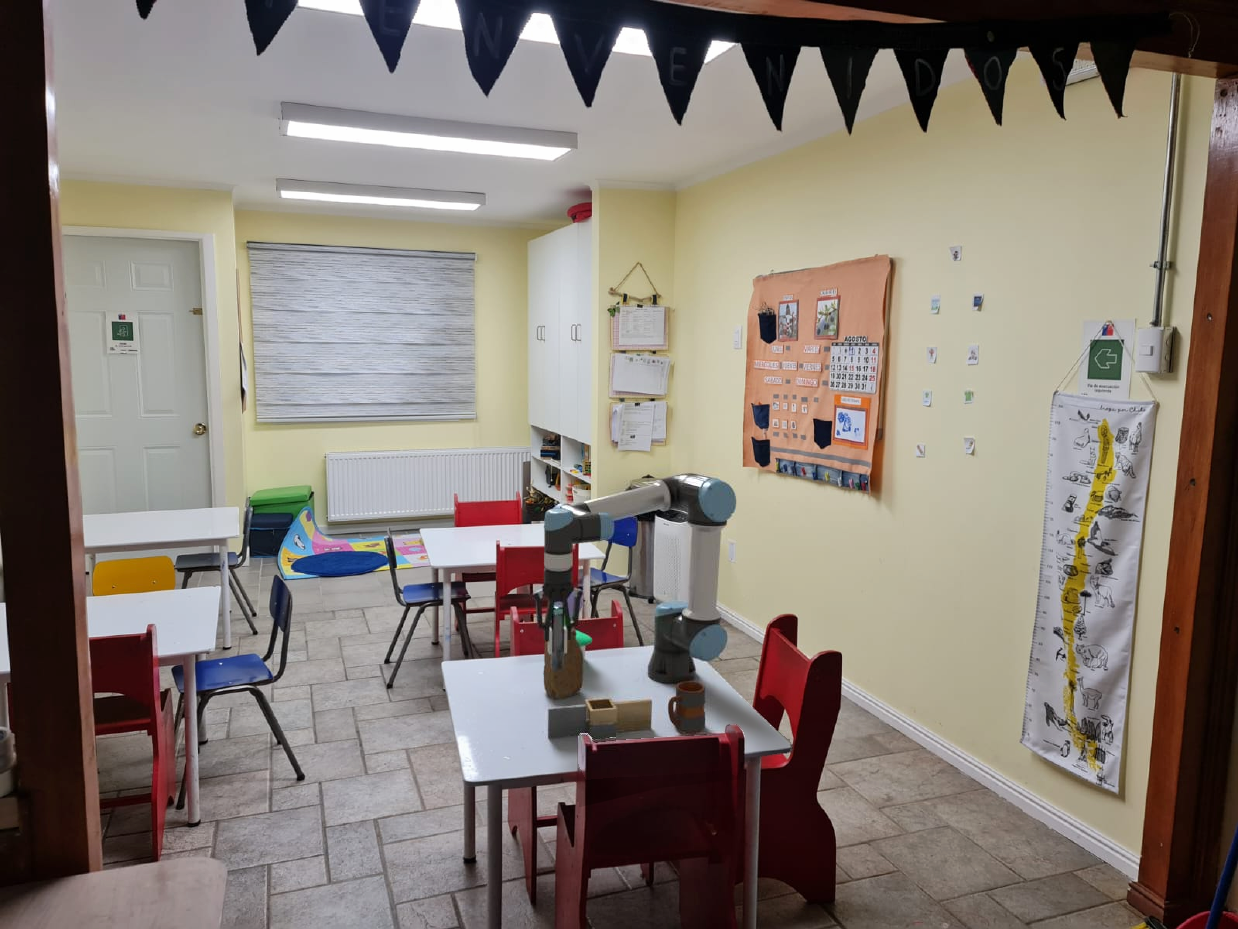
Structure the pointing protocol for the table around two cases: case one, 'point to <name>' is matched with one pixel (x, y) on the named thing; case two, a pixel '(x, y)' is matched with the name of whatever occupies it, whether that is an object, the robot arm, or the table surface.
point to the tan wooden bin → (620, 713)
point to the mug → (688, 707)
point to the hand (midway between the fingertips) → (557, 651)
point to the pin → (557, 637)
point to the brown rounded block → (564, 671)
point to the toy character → (580, 636)
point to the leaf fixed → (576, 723)
